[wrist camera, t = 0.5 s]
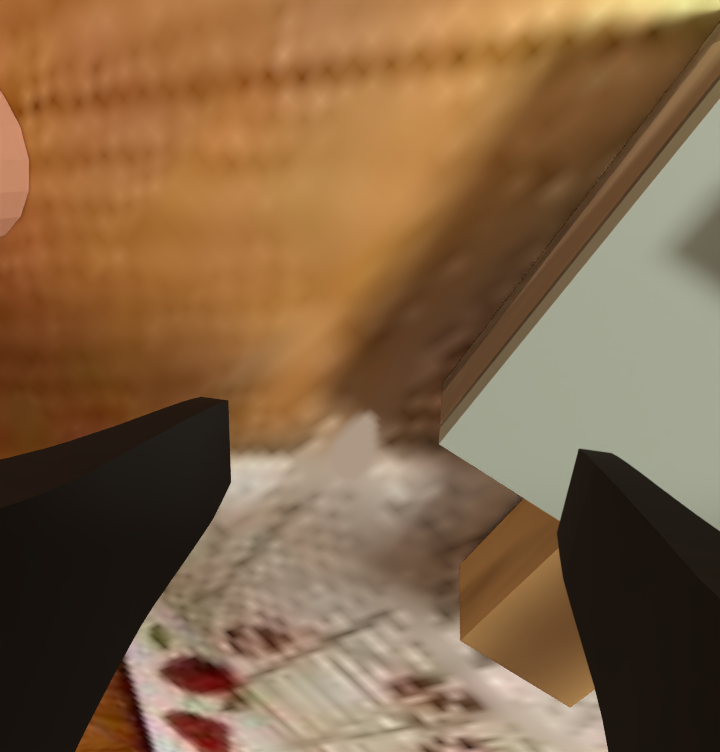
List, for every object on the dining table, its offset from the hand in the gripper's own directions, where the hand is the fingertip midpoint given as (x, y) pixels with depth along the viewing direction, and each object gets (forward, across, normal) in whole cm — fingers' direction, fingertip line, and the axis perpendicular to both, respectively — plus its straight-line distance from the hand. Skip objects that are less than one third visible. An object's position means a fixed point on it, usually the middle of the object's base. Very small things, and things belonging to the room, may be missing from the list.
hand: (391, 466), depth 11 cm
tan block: (+10, -6, +9) cm, 15 cm away
